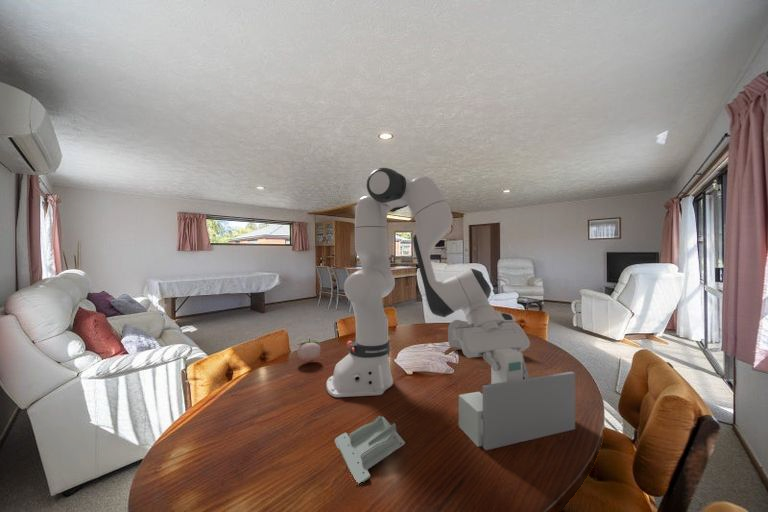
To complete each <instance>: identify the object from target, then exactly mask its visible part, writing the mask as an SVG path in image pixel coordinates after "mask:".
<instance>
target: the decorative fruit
mask: <svg viewBox="0 0 768 512" xmlns="http://www.w3.org/2000/svg"><path fill="white" fill-rule="evenodd" d="M321 344H322V343H321V342H320V341H318V340H315V339H313V340H311V338H309V339H308V341H307V340H303V341H300V342H299V343H298V344H297V346H298V347H297V356H298V358H299V360H300V361H301V362H304V363H307V364H311V363H314V361H316V360H317V359H318V358H319V357H320V355H321V350H322V349H321V348H322V347H321V346H320V345H321Z"/></svg>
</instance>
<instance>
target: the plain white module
mask: <svg viewBox="0 0 768 512" xmlns="http://www.w3.org/2000/svg"><path fill="white" fill-rule="evenodd" d="M520 352H521V351H519V352H518V351H515V350H513V349H511V348H506V349H498V350H494V351H491V355H492V356H491V357H492V358H493V359H494V360H495V361H496V362H499V364H500V366H501V369H500V370H498V371H494V370H493V369H492V367H491V366H490V367H491V368H490V371H491V372H490V373H491V375H490V376H491V378H490V379H491V383H490V384H496V383H502V382H508V381H515V380H521V379H523V359H522V354H523V352H522V353H520Z"/></svg>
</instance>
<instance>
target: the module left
mask: <svg viewBox="0 0 768 512" xmlns="http://www.w3.org/2000/svg"><path fill="white" fill-rule="evenodd" d="M482 418H483V392H482V393H481V392H480V391H475V392H468V393H462V394H458V427H459V429H460V430H462V432H463V433H464V434H465V435H466V436H467V437H468V438H469V439H470V440H471V441H472V442H473V444H474V445H475V446H476V447H478V448H479V447H483V435H482V434H481V419H482Z"/></svg>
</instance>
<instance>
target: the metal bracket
mask: <svg viewBox="0 0 768 512" xmlns="http://www.w3.org/2000/svg"><path fill="white" fill-rule="evenodd" d="M334 443H335V445H336V447H337V449H338V450H339V451H340V454H341V456H342V458H343V460H344V463H346V466H347V468H348V470H350V471H349V472H351V474H352V475H353V477H354V479H355V480H356V482H358V484H359V483H361V482H363V483H365V482H366V481H367V480H369V479H370V477H371V474H370V472H369V469H371V468H372V467H373V466H375V465H377V464H378V463H379V462H381V461H382V460H384V459H385V458H386V457H388V456H389V455H391V454H392V453H394V452H395V451H396V450H398V449H400V448H401V447H402V446H404V445H406V442H405V440H404V439H403V438H402V436H401V435H399V433H398V432H397V424H396V423H393V424H390V422H389V421H388V419H386V417H384V416H381V415H378V416H377V417H376V418H375V419H374V420H373V421H372V422H370V423H367V424H364V425H362V426H361V427H358V428H356V429H355V430H353V431H352V432H350V433H349V434H348V433H347V432H343V433H341V434H340V435H338V436H337V437H335V439H334ZM361 484H362V483H361Z"/></svg>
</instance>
